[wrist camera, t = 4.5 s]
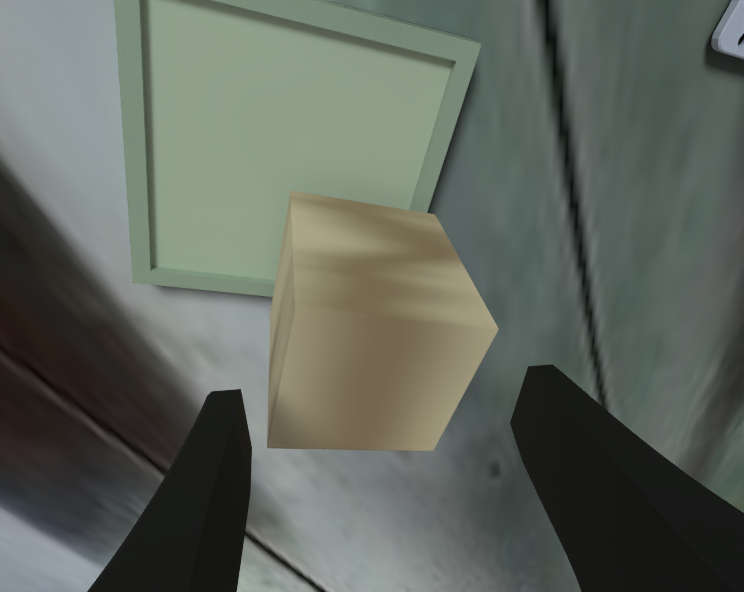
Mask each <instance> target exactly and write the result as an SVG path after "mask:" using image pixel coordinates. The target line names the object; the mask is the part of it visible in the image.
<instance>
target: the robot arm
mask: <svg viewBox="0 0 744 592" xmlns="http://www.w3.org/2000/svg"><path fill="white" fill-rule="evenodd" d="M743 34H744V0H732V1H731V3H730V5H729V6H728V8H727V10H726V12H725V14H724V15H723V17H722V19H721V21H720V22H719V24H718V26H717V28H716V29H715V31H714V34H713V36H712V41H711V45H712V47H713V49H714V50H716V51H717V52H721V53H724V54H727V55H731V56H734V57H737V58H741V59H744V39H743V41H742V42H741V43H740V44H739V45H738V41H739V39H740V37H741V36H742V35H743ZM510 424H511V427H512V430H513V433H514V437H515V440H516V443H517V446H518V449H519V452H520V455H521V458H522V461H523V463H524V466H525V468H526V470H527V472H528V474H529V477H530V479H531V481H532V483H533V485H534V487H535V489H536V492H537V494H538V496H539V498H540V500H541V502H542V504H543V506H544V508H545V510H546V513H547V515H548V517H549V519H550V521H551V523H552V525H553V527H554V529H555V531H556V534H557V536H558V538H559V540H560V542H561V544H562V546H563V548H564V550H565V552H566V554H567V557H568V559H569V561H570V564H571V566H572V568H573V571H574V573H575V575H576V578H577V580H578V583H579V586H580V588H581V591H582V592H744V513H743V512H741V511H740V510H738V509H737V508H735V507H734V506H732V505H731V504H729V503H728V502H726V501H725V500H723V499H722V498H720V497H719V496H717V495H716V494H715V493H713V492H712V491H710V490H709V489H707V488H706V487H704V486H703V485H701V484H700V483H699V482H697V481H696V480H694V479H693V478H692V477H690V476H689V475H687V474H686V473H685V472H683V471H682V470H681V469H679V468H678V467H677V466H675V465H674V464H673V463H671V462H670V461H669V460H667V459H666V458H665V457H663V456H662V455H661V454H660V453H658V452H657V451H656V450H654V449H653V448H652V447H651V446H649V445H648V444H647V443H645V442H644V441H643V440H642V439H640V438H639V437H638V436H637V435H636V434H634V433H633V432H632V431H631V430H629V429H628V428H627V427H626V426H625V425H623V424H622V423H621V422H620V421H619V420H617V419H616V418H615V417H614V416H613V415H611V414H610V413H609V412H608V411H607V410H605V409H604V408H603V407H602V406H601V405H600V404H598V403H597V402H596V401H595V400H594V399H593V398H591V397H590V396H589V395H588V394H587V393H586V392H585V391H583V390H582V389H581V388H580V387H579V386H578V385H576V384H575V383H574V382H573V381H572V380H571V379H569V378H568V377H567V376H566V375H565V374H564V373H562V372H561V371H560V370H559V369H557V368H556V367H555V366H554V365H540V366H528V369H527V372H526V375H525V378H524V382H523V385H522V388H521V391H520V394H519V397H518V400H517V403H516V406H515V410H514V413H513V416H512V419H511V422H510ZM251 459H252V446H251V441H250V435H249V430H248V425H247V419H246V414H245V409H244V403H243V398H242V393H241V389H237V390H225V391H212V392H211V393H210V394H209V395H208V396H207V398H206V400H205V402H204V405H203V407H202V409H201V411H200V413H199V415H198V417H197V419H196V421H195V423H194V425H193V427H192V429H191V431H190V433H189V435H188V437H187V439H186V441H185V443H184V444H183V446H182V448H181V450H180V452H179V454H178V455H177V457H176V459H175V460H174V462H173V464H172V466H171V467H170V469H169V471H168V473H167V474H166V476H165V478H164V480H163V481H162V483H161V485H160V486H159V488H158V490H157V491H156V493H155V494H154V496H153V498H152V499H151V501H150V502H149V504H148V505H147V507H146V508H145V510H144V511H143V513H142V515H141V516H140V518H139V519H138V521H137V522H136V524H135V525H134V527H133V529H132V530H131V532H130V533H129V535H128V536H127V537H126V539H125V540H124V542H123V543H122V545H121V546H120V548H119V549H118V550H117V552H116V553H115V555H114V556H113V558H112V559H111V560H110V562H109V563H108V565H107V566H106V567H105V569H104V570H103V571H102V573H101V574H100V575H99V577H98V578H97V579H96V581H95V582H94V583H93V585H92V586H91V588H90V589H89V590H88V591H87V592H237V585H238V578H239V571H240V564H241V557H242V550H243V543H244V536H245V528H246V521H247V514H248V507H249V499H250V487H251Z"/></svg>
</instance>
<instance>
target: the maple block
mask: <svg viewBox="0 0 744 592" xmlns="http://www.w3.org/2000/svg"><path fill="white" fill-rule="evenodd" d="M498 330H499V329H498V327H497V325H496V324H495V322H494V320H493V318H492V316H491V315H490V313H489V311H488V309H487V307H486V305H485V304H484V302H483V300H482V298H481V296H480V295H479V293H478V291H477V289H476V287H475V286H474V284H473V282H472V280H471V278H470V277H469V275H468V273H467V271H466V269H465V268H464V266H463V264H462V262H461V260H460V259H459V257H458V255H457V253H456V251H455V250H454V248H453V246H452V244H451V242H450V241H449V239H448V237H447V235H446V233H445V232H444V230H443V228H442V226H441V224H440V223H439V221H438V219H437V217H436V215H435V214H429V213H423V212H417V211H411V210H405V209H399V208H393V207H387V206H381V205H375V204H369V203H363V202H357V201H351V200H345V199H340V198H334V197H328V196H322V195H316V194H310V193H304V192H298V191H292V190H290V195H289V201H288V208H287V214H286V220H285V226H284V232H283V238H282V244H281V250H280V257H279V263H278V269H277V275H276V281H275V287H274V293H273V299H272V305H271V313H270V354H269V395H268V436H267V448H285V449H345V450H404V451H433V450H434V448H435V446H436V445H437V443H438V441H439V439H440V437H441V435H442V433H443V432H444V430H445V428H446V426H447V424H448V422H449V420H450V419H451V417H452V415H453V413H454V411H455V409H456V407H457V406H458V404H459V402H460V400H461V398H462V396H463V394H464V393H465V391H466V389H467V387H468V385H469V383H470V382H471V380H472V378H473V376H474V374H475V372H476V370H477V369H478V367H479V365H480V363H481V361H482V359H483V357H484V356H485V354H486V352H487V350H488V348H489V346H490V344H491V343H492V341H493V339H494V337H495V335H496V333H497V331H498Z"/></svg>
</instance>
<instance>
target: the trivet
mask: <svg viewBox="0 0 744 592" xmlns="http://www.w3.org/2000/svg"><path fill="white" fill-rule="evenodd" d="M114 5H115V20H116V35H117V50H118V65H119V80H120V95H121V110H122V125H123V140H124V155H125V170H126V185H127V200H128V215H129V230H130V245H131V260H132V275H133V283H141V284H151V285H161V286H171V287H180V288H190V289H200V290H209V291H219V292H229V293H238V294H248V295H258V296H268V297H273V293H274V287H275V281H276V275H277V269H278V263H279V257H280V250H281V244H282V238H283V232H284V226H285V220H286V214H287V208H288V201H289V195H290V190H292V191H298V192H304V193H310V194H316V195H322V196H328V197H334V198H340V199H345V200H351V201H357V202H363V203H369V204H375V205H381V206H387V207H393V208H399V209H405V210H411V211H417V212H423V213H427V212H428V208H429V205H430V202H431V199H432V196H433V193H434V190H435V187H436V184H437V181H438V178H439V175H440V171H441V168H442V165H443V162H444V159H445V156H446V153H447V150H448V147H449V144H450V141H451V137H452V134H453V131H454V128H455V125H456V122H457V119H458V116H459V113H460V110H461V107H462V104H463V100H464V97H465V94H466V91H467V88H468V85H469V82H470V79H471V76H472V73H473V70H474V67H475V63H476V60H477V57H478V54H479V51H480V48H481V45H482V44H480V43H478V42H476V41H474V40H472V39H469V38H465V37H461V36H458V35H454V34H450V33H446V32H443V31H439V30H435V29H431V28H427V27H424V26H420V25H416V24H412V23H409V22H405V21H401V20H397V19H393V18H390V17H386V16H382V15H378V14H374V13H371V12H367V11H363V10H359V9H356V8H352V7H348V6H344V5H340V4H337V3H333V2H329V1H325V0H114Z"/></svg>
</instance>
